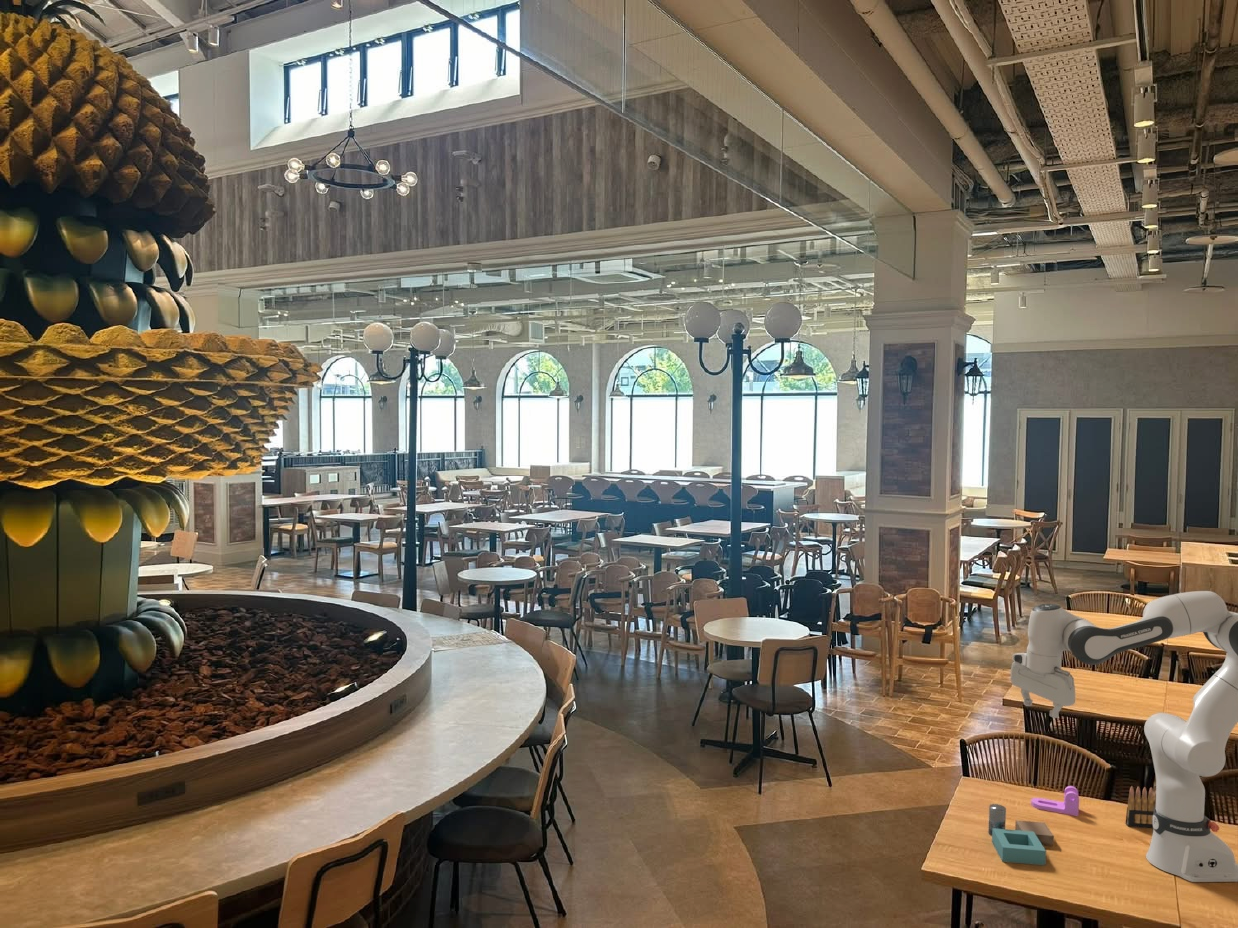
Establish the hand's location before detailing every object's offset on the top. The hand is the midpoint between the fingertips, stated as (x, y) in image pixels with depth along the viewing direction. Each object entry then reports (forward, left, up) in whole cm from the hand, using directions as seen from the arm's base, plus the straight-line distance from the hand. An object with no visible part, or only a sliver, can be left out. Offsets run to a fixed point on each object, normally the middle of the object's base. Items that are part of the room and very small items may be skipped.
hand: (1040, 711), depth 245 cm
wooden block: (-1, -5, -39) cm, 39 cm away
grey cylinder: (+9, -6, -39) cm, 40 cm away
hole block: (+6, +5, -39) cm, 40 cm away
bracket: (-13, -27, -39) cm, 49 cm away
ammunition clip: (-36, -19, -39) cm, 56 cm away
